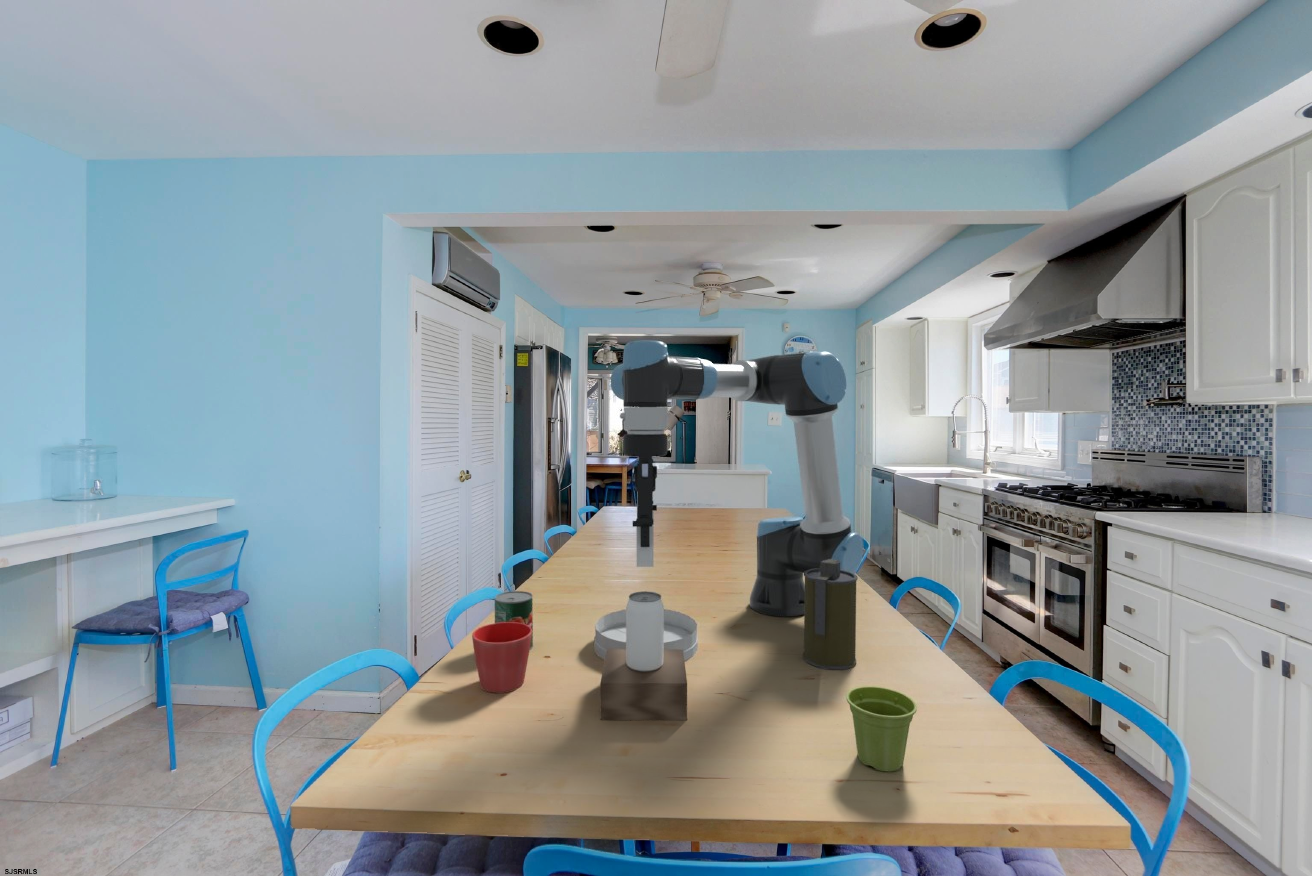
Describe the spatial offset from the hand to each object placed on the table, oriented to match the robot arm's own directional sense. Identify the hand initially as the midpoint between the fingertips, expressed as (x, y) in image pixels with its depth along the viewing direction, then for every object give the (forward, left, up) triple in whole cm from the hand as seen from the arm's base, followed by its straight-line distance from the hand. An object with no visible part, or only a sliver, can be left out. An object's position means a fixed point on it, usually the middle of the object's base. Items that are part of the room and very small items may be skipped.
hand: (645, 556), depth 102 cm
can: (0, 0, -19) cm, 19 cm away
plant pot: (-34, +18, -25) cm, 46 cm away
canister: (-37, -17, -25) cm, 48 cm away
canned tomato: (+28, -23, -25) cm, 44 cm away
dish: (0, -24, -26) cm, 35 cm away
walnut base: (0, 0, -25) cm, 25 cm away
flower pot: (+26, -6, -25) cm, 37 cm away
